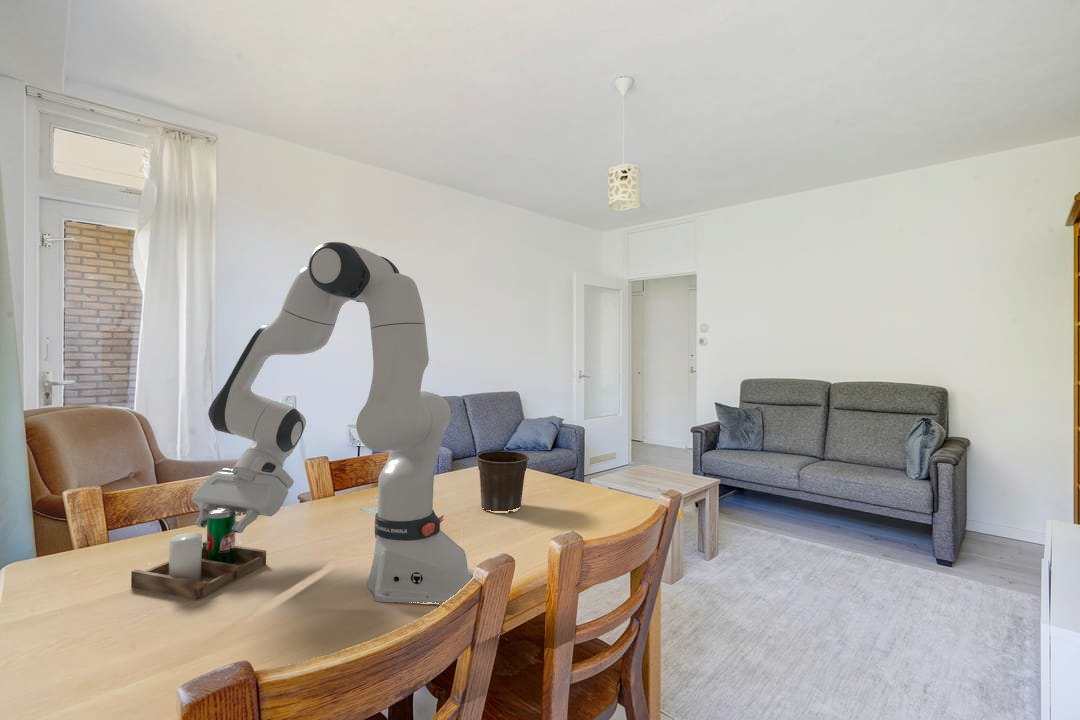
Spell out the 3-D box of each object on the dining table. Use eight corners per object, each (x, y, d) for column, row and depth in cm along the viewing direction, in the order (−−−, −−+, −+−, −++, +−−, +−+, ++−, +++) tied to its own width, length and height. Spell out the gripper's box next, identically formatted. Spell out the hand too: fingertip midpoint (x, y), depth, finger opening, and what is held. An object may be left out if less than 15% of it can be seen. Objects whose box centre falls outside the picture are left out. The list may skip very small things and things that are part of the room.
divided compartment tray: (265, 569, 106) (266, 550, 106) (198, 606, 90) (198, 583, 90) (205, 560, 110) (205, 541, 110) (131, 593, 94) (131, 571, 94)
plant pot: (526, 517, 144) (528, 462, 144) (471, 515, 144) (472, 460, 144) (528, 501, 160) (529, 451, 160) (478, 499, 161) (480, 449, 160)
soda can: (222, 572, 101) (224, 514, 101) (200, 571, 102) (201, 512, 101) (240, 562, 106) (241, 506, 106) (218, 560, 107) (219, 505, 106)
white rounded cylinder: (207, 579, 98) (208, 534, 98) (183, 591, 93) (184, 544, 93) (186, 575, 99) (187, 531, 99) (161, 587, 94) (162, 540, 94)
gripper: (210, 460, 113) (167, 516, 103) (286, 467, 108) (249, 527, 98) (226, 474, 117) (187, 530, 108) (300, 483, 112) (266, 541, 103)
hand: (217, 529), depth 103 cm, fingers open, 8 cm apart
